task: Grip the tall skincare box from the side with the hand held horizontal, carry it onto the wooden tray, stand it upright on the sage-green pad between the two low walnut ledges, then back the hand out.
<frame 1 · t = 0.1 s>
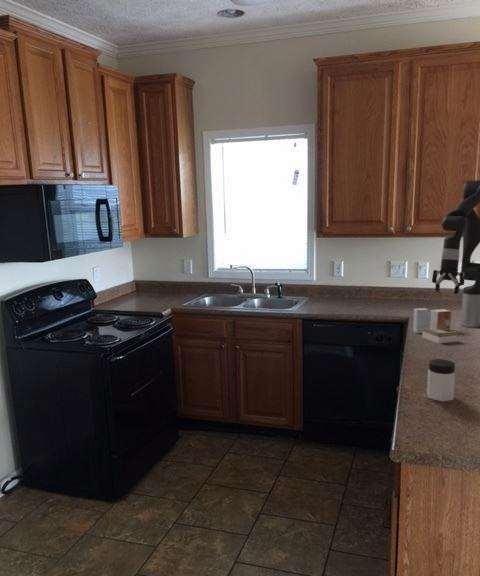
hand: (446, 293, 240), 22 cm above the worktop, tool pointing down, fingers open, 8 cm apart
small box: (439, 330, 260), on the worktop
wooden tray: (439, 339, 243), on the worktop
skincare box: (420, 332, 256), on the worktop
jar: (439, 397, 172), on the worktop
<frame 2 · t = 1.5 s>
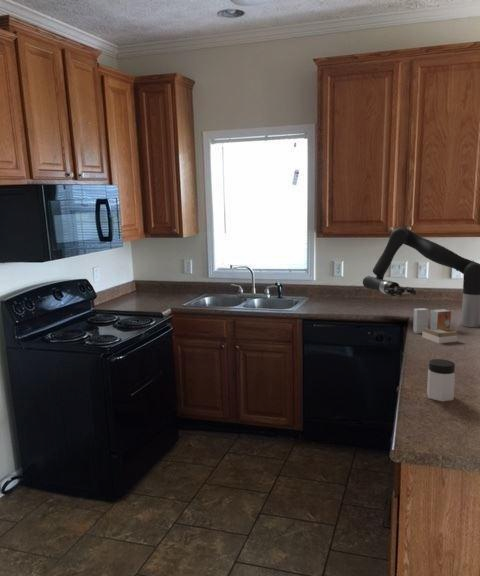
hand: (408, 293, 263), 18 cm above the worktop, tool horizontal, fingers open, 8 cm apart
nothing on the worktop moved.
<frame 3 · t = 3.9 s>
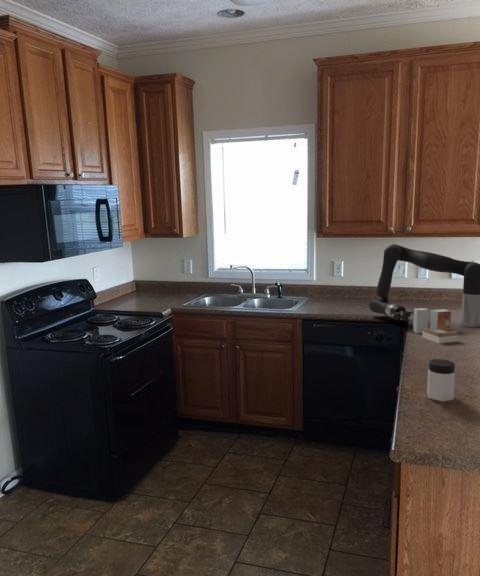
hand: (414, 317, 260), 6 cm above the worktop, tool horizontal, fingers open, 8 cm apart
nothing on the worktop moved.
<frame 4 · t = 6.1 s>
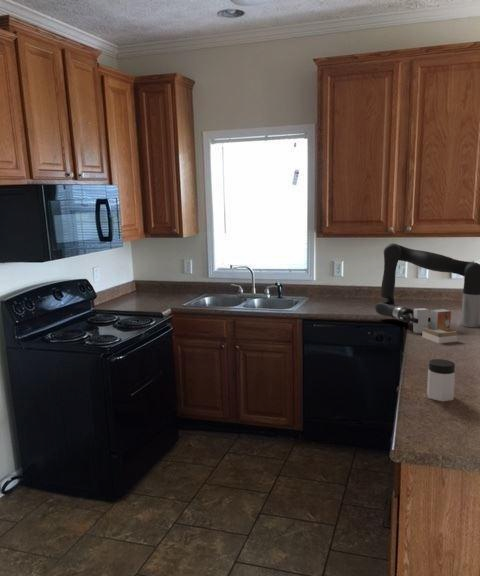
hand: (423, 320, 253), 7 cm above the worktop, tool horizontal, fingers closed on skincare box, 6 cm apart
skincare box: (420, 332, 256), on the worktop, touching gripper
everything else where it was.
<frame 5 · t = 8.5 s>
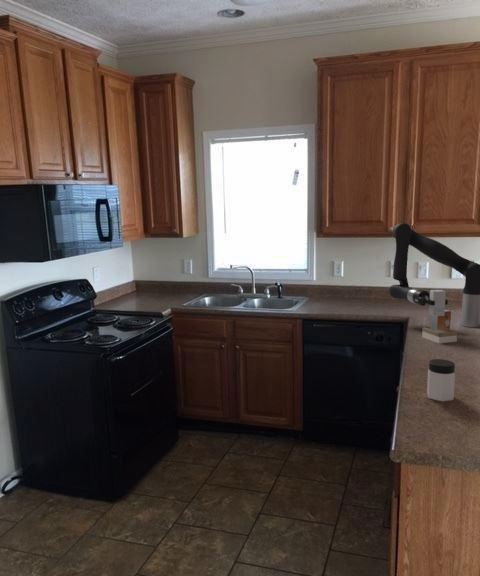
hand: (440, 302, 240), 18 cm above the worktop, tool horizontal, fingers closed on skincare box, 6 cm apart
skincare box: (436, 315, 244), point 11 cm above the worktop, touching gripper
everything else where it was.
when the fingers open (11 cm above the worktop, at t = 11.3 s): skincare box stays where it is, resting on wooden tray.
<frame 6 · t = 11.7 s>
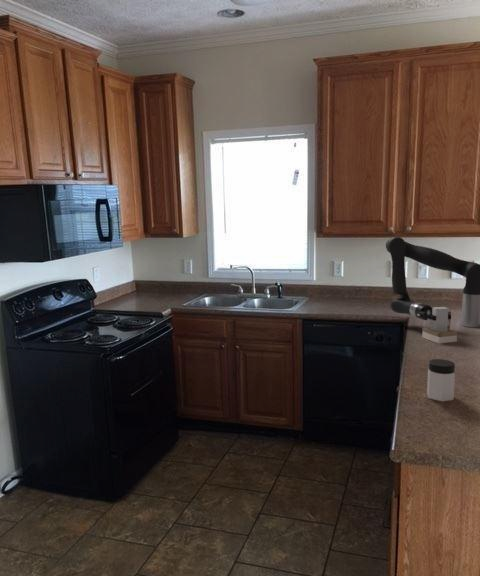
hand: (443, 317, 240), 11 cm above the worktop, tool horizontal, fingers open, 8 cm apart
skincare box: (439, 333, 243), point 3 cm above the worktop, touching wooden tray
everything else where it was.
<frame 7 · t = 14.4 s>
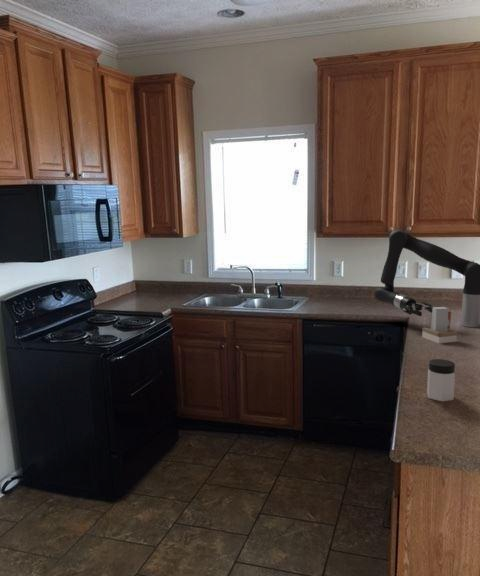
hand: (427, 312, 253), 11 cm above the worktop, tool horizontal, fingers open, 8 cm apart
nothing on the worktop moved.
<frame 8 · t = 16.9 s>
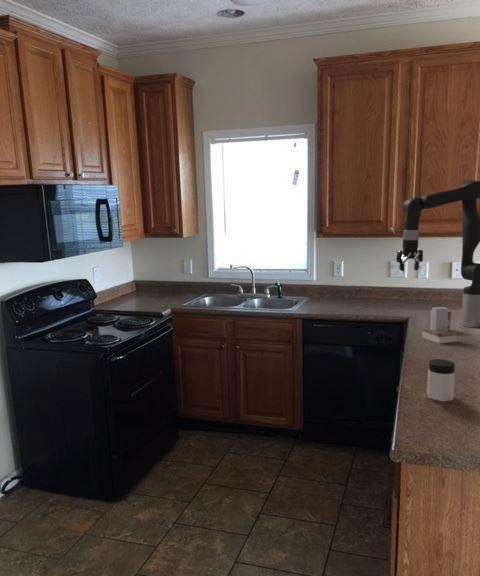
hand: (409, 270, 262), 30 cm above the worktop, tool pointing down, fingers open, 8 cm apart
nothing on the worktop moved.
at the end: skincare box inside the target area on the wooden tray (0.2 cm from its centre), point 3.1 cm above the wooden tray's base; skincare box tilted 0°; the gripper is holding nothing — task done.
